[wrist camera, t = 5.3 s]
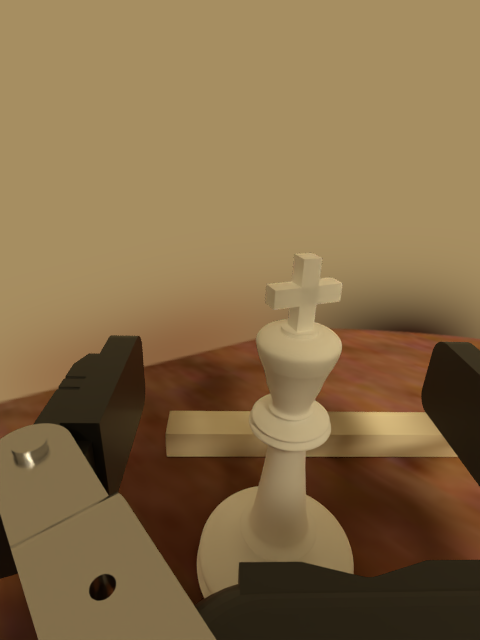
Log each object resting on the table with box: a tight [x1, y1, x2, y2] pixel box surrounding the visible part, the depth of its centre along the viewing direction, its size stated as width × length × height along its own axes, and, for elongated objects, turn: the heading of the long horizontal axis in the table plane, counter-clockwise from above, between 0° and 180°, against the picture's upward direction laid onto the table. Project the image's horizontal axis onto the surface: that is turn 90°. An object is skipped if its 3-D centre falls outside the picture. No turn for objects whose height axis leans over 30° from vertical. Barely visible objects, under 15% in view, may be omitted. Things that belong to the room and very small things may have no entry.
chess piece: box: [197, 253, 354, 599], centre depth 11 cm, size 5×5×10 cm
